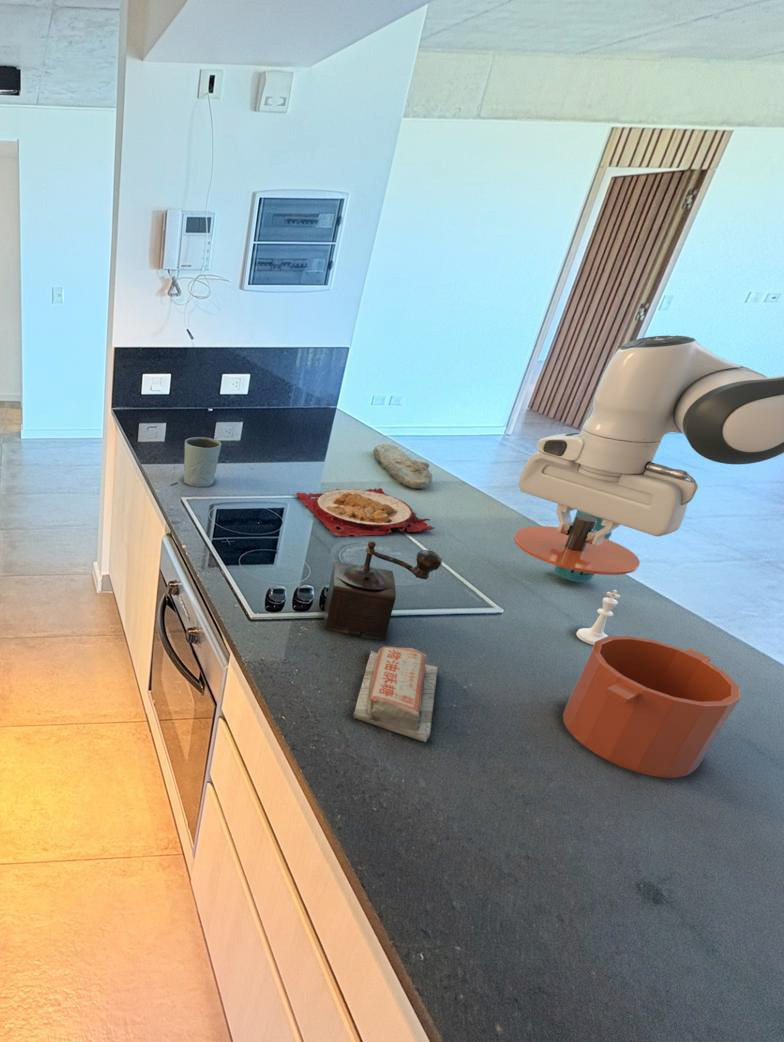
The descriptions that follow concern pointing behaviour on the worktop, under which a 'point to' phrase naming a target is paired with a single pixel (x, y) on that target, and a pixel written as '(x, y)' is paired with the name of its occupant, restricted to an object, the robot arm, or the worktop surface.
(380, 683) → the packaged product
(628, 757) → the pot
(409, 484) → the long grey stone
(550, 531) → the lid
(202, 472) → the green ceramic cup
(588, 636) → the chess piece
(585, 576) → the beverage bottle
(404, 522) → the plate with food
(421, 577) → the brown manual coffee grinder
